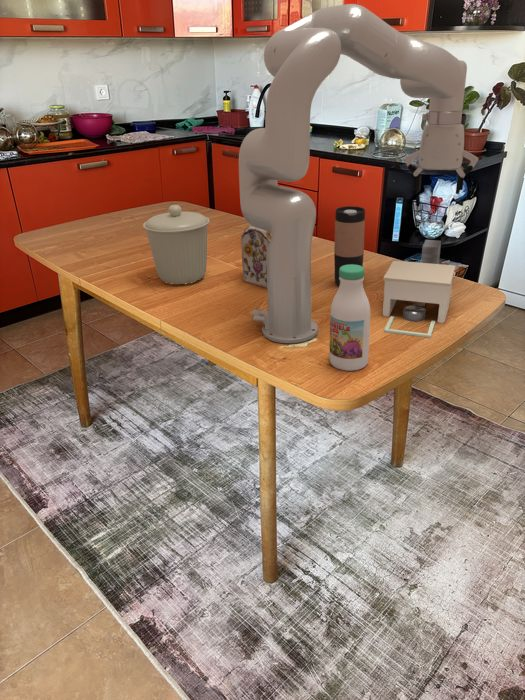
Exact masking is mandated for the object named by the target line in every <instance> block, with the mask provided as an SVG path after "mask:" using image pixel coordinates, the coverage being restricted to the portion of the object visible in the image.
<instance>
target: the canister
mask: <svg viewBox="0 0 525 700" xmlns="http://www.w3.org/2000/svg"><path fill="white" fill-rule="evenodd" d="M210 222H211V221H210V218H209V217H207V216H205V215H204V214H201V213H199V212H195V211H188V210H187V211H182V207H181V206H180V205H178V204H172V205H170V206H169V207H168V212H165V213H163V212H162V213H160V214H156V215H154V216H151V217H150V218H148V219H147V221H145V222H144V223H143V224H142V227H143V230H145V231H146V235H147V238H148V239H147V240H148V243H149V246H150V251H151V256H152V259H153V262H154V266H155V269H156V273H157V276H158V278H159V279H160V280H161V281H162V282H163V281H164V283H165V282H167V283H166V284H168V283H173V284H184V285H186V284H185V283H190V284H192V283H191V282H194V281H197V280H199V281H201V280H202V279H204V278H203V277H204V276H205V274H206V273H207V264H208V263H207V259H208V253H207V252H208V225H209V223H210ZM201 278H202V279H201ZM197 282H198V281H197ZM194 283H195V282H194Z"/></svg>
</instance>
